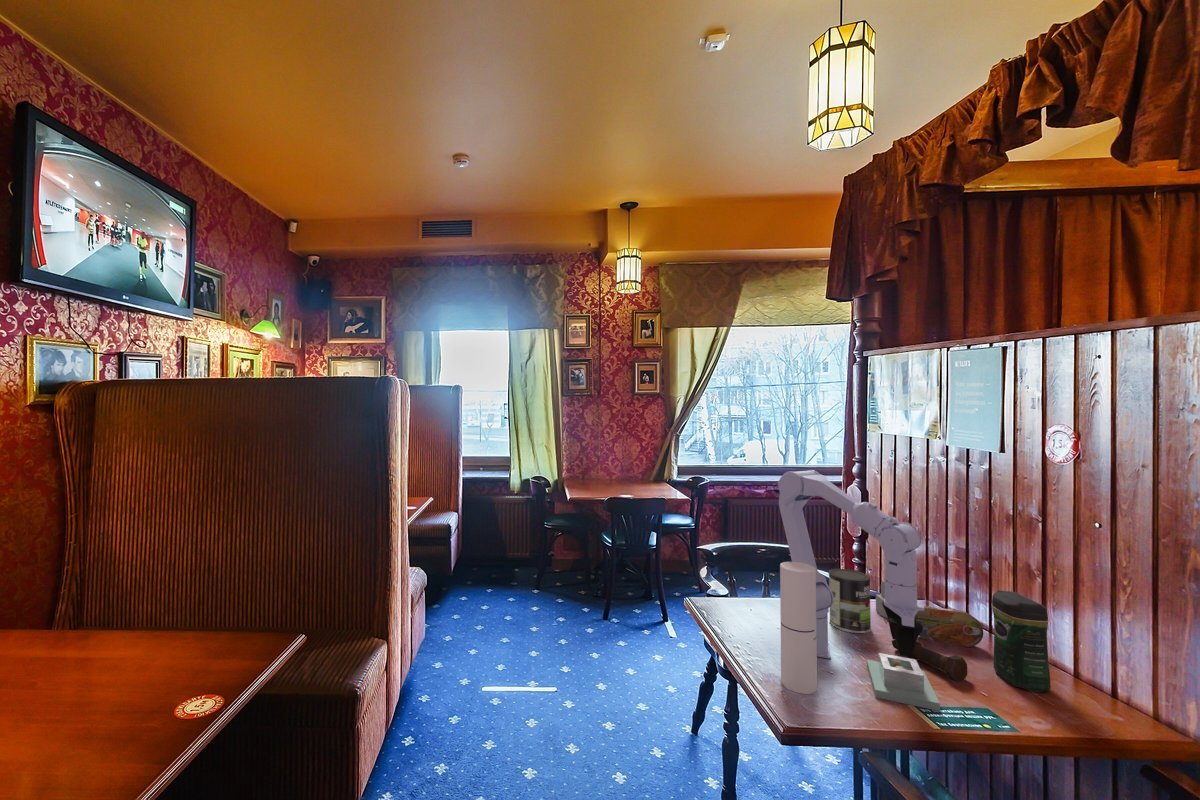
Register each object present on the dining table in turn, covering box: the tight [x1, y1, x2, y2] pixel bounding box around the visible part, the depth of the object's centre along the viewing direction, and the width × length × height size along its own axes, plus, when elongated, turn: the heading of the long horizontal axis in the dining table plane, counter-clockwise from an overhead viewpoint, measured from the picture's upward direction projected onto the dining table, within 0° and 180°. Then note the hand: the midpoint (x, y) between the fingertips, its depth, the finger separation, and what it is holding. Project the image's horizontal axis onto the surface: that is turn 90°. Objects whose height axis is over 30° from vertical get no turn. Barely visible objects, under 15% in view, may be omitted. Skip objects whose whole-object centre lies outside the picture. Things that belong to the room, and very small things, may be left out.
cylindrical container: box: [779, 561, 818, 695], centre depth 99 cm, size 7×7×25 cm
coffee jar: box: [991, 589, 1051, 693], centre depth 101 cm, size 10×8×19 cm
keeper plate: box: [866, 659, 941, 712], centre depth 98 cm, size 11×13×4 cm
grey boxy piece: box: [878, 652, 924, 693], centre depth 97 cm, size 7×7×4 cm
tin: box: [914, 605, 984, 648], centre depth 118 cm, size 15×3×8 cm, turn 68°
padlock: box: [875, 580, 888, 619], centre depth 134 cm, size 7×4×10 cm, turn 2°
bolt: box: [891, 639, 968, 683], centre depth 107 cm, size 6×5×15 cm
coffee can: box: [828, 568, 872, 634], centre depth 127 cm, size 10×10×14 cm
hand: (901, 647), depth 96 cm, fingers open, 7 cm apart
